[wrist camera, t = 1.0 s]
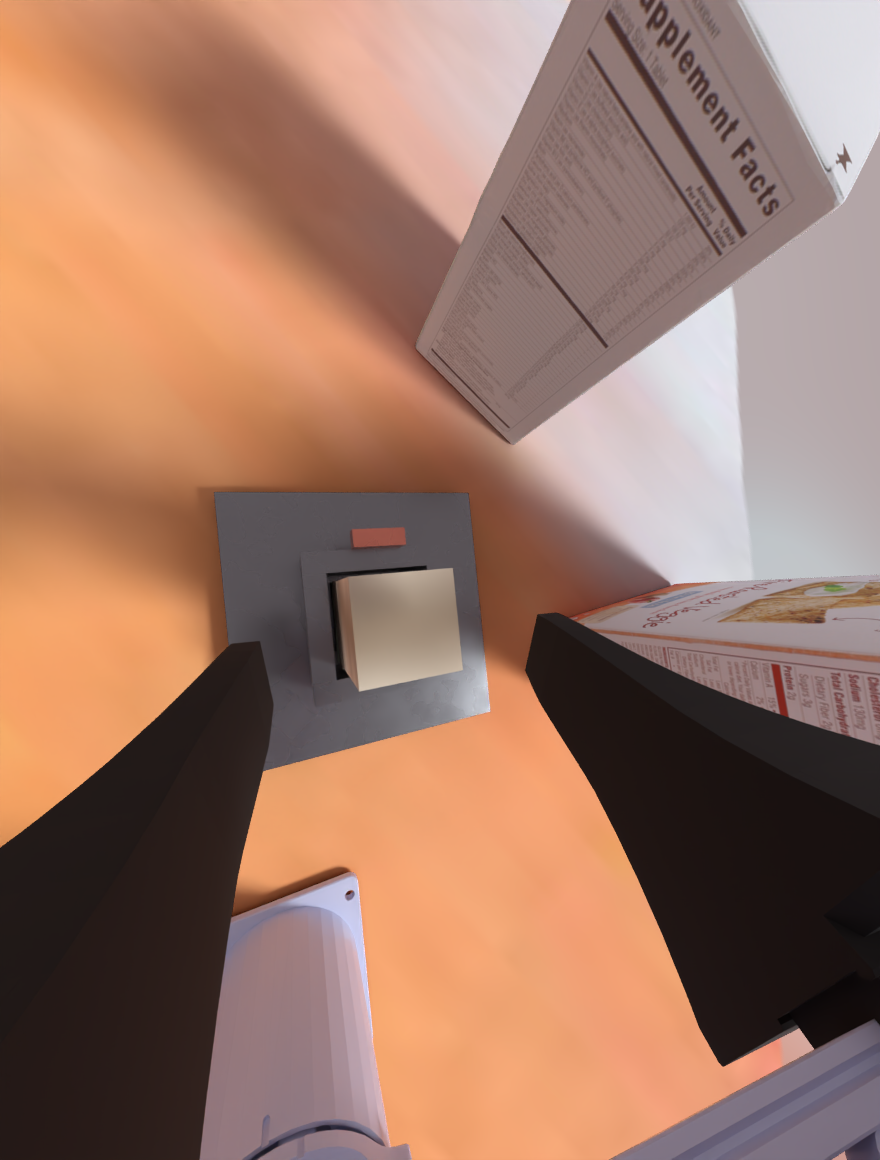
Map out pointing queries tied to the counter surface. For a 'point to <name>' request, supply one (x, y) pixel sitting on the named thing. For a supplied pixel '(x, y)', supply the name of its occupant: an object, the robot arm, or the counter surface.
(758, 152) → the supplement box
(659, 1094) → the counter surface
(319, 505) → the stand
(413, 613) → the birch post
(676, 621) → the cracker box
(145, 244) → the counter surface
